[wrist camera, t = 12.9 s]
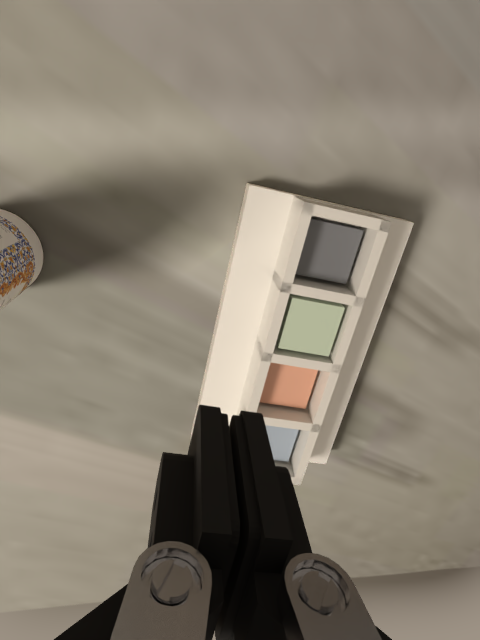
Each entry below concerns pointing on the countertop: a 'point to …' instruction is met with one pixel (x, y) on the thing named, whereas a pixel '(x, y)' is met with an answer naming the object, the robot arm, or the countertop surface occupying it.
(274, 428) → the key
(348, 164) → the countertop surface
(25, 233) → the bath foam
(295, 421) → the white compartment tray
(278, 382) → the key
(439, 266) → the countertop surface
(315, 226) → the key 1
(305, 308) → the key
